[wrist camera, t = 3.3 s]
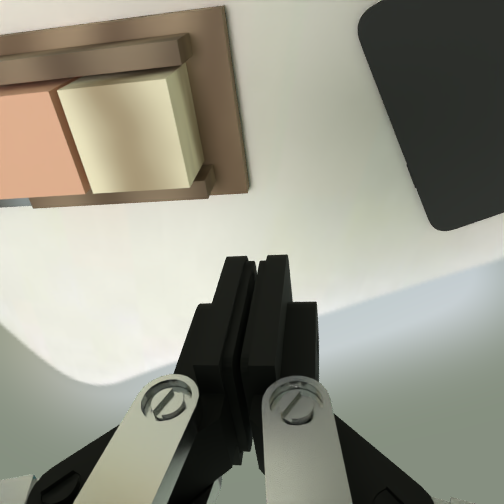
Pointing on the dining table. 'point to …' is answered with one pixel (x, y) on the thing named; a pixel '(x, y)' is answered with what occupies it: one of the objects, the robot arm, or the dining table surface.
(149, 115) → the beech block
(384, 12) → the phone
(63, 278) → the dining table surface
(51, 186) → the terracotta block
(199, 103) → the chute
